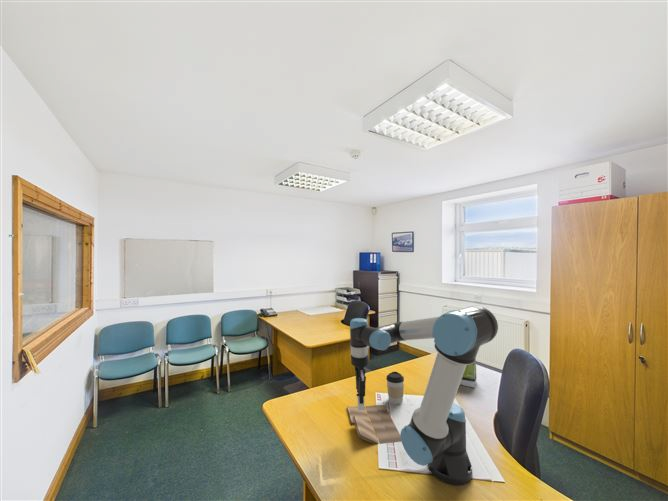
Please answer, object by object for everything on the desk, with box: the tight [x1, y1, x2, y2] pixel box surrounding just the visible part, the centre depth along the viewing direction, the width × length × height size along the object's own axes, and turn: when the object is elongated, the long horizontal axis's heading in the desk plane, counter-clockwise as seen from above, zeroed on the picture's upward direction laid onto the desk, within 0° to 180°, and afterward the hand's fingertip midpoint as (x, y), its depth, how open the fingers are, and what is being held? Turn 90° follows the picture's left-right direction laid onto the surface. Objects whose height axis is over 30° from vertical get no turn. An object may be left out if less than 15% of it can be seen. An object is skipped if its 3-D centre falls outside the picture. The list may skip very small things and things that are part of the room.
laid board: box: [364, 404, 402, 445], centre depth 131 cm, size 28×10×1 cm, turn 6°
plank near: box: [353, 415, 380, 445], centre depth 123 cm, size 14×9×1 cm, turn 6°
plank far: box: [346, 405, 372, 426], centre depth 137 cm, size 14×9×1 cm, turn 6°
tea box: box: [459, 357, 478, 389], centre depth 170 cm, size 15×10×15 cm, turn 58°
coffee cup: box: [386, 371, 405, 405], centre depth 149 cm, size 9×9×15 cm
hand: (361, 409), depth 123 cm, fingers closed
